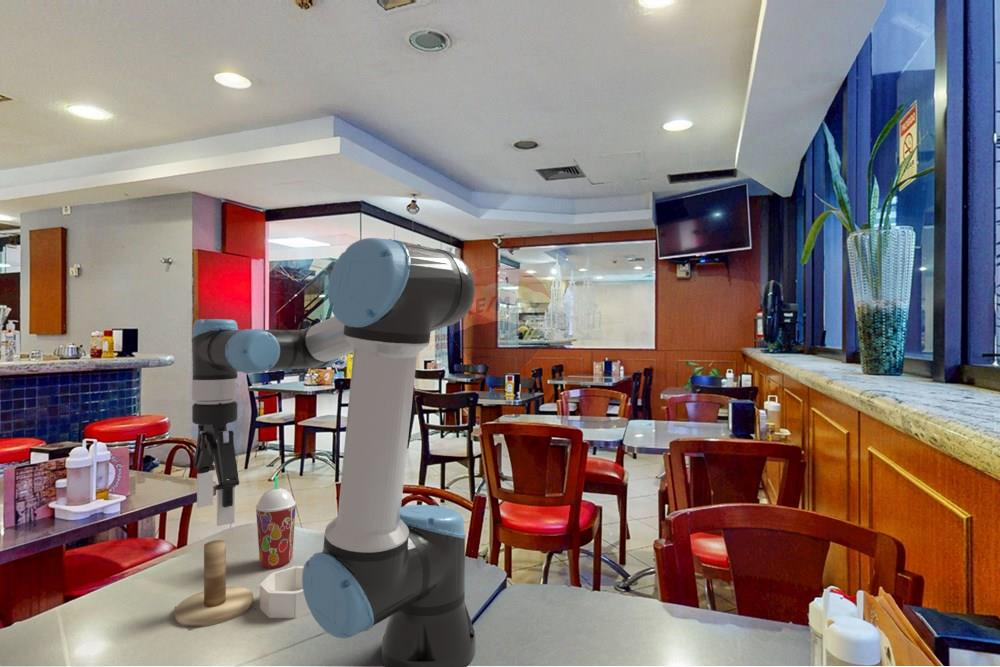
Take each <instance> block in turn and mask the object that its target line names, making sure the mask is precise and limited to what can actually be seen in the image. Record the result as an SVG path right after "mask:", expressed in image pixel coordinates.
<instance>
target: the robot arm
mask: <svg viewBox="0 0 1000 667" xmlns="http://www.w3.org/2000/svg"><path fill="white" fill-rule="evenodd" d="M327 290H328V291H327V294H328V302H329V305H330V306H332V308H331V312H332V314H333V316H331V317H329V318H327V319H324V320H322V321H320V322H317V323H315V324H314V325H311V326H308V327H307V328H304V329H303V328H302V329H260V328H259V329H258V328H245V329H239V328H238V323H237V321H236V320H234V319H228V318H227V319H222V318H221V319H219V318H211V319H208V318H207V319H206V318H205V319H203V318H202V319H201V318H200V319H197V320H195V321H194V323H193V324H192V326H193V327H192V328H193V329H192V337H191V347H192V358H191V359H192V361H191V362H192V379H191V400H192V401H194V403H193V404H192V405H191V406H192V408H191V409H192V412H191V413H192V414H191V415H192V416H191V419H192V420H191V421H192V423H193V424H194V425H198V430H197V431H198V434H197V440H196V441H197V442H196V448H195V452H194V453H195V455H194V461H193V467H194V468H195V471H196V508H197V509H198V508H205V507H209V506H213V505H214V490H215V491H216V526H217V527H220V526H221V527H222V526H225V525H229V524H234V523H235V512H236V511H235V508H236V507H235V505H236V504H235V497H236V496H235V490H236V489H235V487H236V486H239V485H240V479H239V472H238V466H237V465H238V464H237V457H236V452H235V451H236V450H235V444H234V441H235V440H234V431H233V430H228V429H227V428H228V427H227V424H229V423H234V422H236V421H237V420H238V402H237V401H236V399H237V398H238V388H240V386H241V383H240V382H239V381H238V372H242V373H244V374H249V375H250V374H259V373H264V372H267V371H270V372H271V371H282V370H283V371H284V370H298V369H299V370H300V369H314V370H317V369H323V368H329V367H331V366H333V365H335V363H336V362H337V360H338V359H340V358H342V357H345V356H349V355H350V354H352V364H351V365H352V366H351V374H350V375H351V376H350V385H349V395H348V404H347V405H348V407H347V415H346V416H347V418H346V426H345V427H346V428H345V435H344V436H345V438H344V448H343V459H342V469H341V480H340V490H339V498H338V499H339V500H338V511H337V517H335V518H334V519H332V520H331V521H330V522H329V523H328V524H327V525H326V527H325V529H324V538H323V546H322V547H323V548H322V551H321V552H315V553H314V554H313V555H312V556H311V557H309V559H308V560H307V561H306V562H305V564H304V565H303V566H304V568H303V573H302V586H303V592H304V596H305V600H306V603H307V605H308V608H309V609H310V611H311V613H310V614H311V615H312V617H313V618H314V621H316V623H317V624H318V625H319V627H321V629H323V631H325V632H326V633H327V634H329V635H330V636H332V637H335V638H339V639H348V638H351V637H354V636H356V635H358V634H360V633H362V632H367V631H370V629H372V628H373V627H374V626H375V625H377V624H379V623H381V622H382V621H384V620H386V619H387V618H388V620H387V624H386V628H385V631H384V632H385V633H384V634H383V637H382V640H381V660H382V663H383V664H384V666H385V667H467V666H468V665H469V664H470V663H471V662H472V661H473V659H474V657H475V655H476V649H477V647H476V646H477V645H476V644H477V643H476V632H475V629H474V626H473V623H472V620H471V616H470V614H469V610H468V607H467V604H466V598H465V596H466V595H465V593H466V591H465V590H466V589H465V587H466V586H465V585H466V584H465V583H466V581H465V580H466V578H465V577H466V576H465V574H466V573H465V572H466V569H465V568H466V538H467V536H466V534H465V533H466V532H465V520H464V517H463V516H462V514H461V513H460V512H458V511H457V510H455V509H452V508H449V507H446V506H440V505H430V504H429V505H428V504H413V505H405V506H402V500H403V493H404V492H403V491H404V482H405V473H406V464H407V453H408V446H409V444H408V443H409V433H410V425H411V417H412V416H411V415H412V405H413V396H414V388H415V378H416V369H417V368H416V367H417V359H418V355H419V353H421V352H422V351H423V350H424V349H425V348H427V347H428V346H429V344H430V340H431V334H432V333H431V332H433V331H436V330H440V329H442V328H446V327H450V326H452V325H455V324H457V323H458V322H460V321H462V319H464V318H465V317H466V315H467V314H468V313H469V311H470V310H471V308H472V306H473V303H474V301H475V296H476V282H475V278H474V275H473V274H472V271H471V269H470V268H469V266H468V265H467V264H466V262H465V261H464V260H463V259H462V258H460V257H459V256H458V255H456V254H454V253H453V252H450V251H448V250H445V249H440V248H431V247H429V246H424V245H418V244H416V243H411V242H405V241H401V240H397V239H392V238H388V239H387V238H379V237H378V238H377V237H367V238H362V239H359V240H357V241H355V242H353V243H352V244H349V246H347V248H346V249H345V251H344V252H341V254H340V256H338V259H337V260H336V261H335V263H334V266H333V268H332V270H331V273H330V276H329V282H328V289H327ZM214 471H215V472H216V473H215V474H216V477H217V484H216V485H215V486H214Z"/></svg>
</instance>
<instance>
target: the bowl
mask: <svg viewBox="0 0 1000 667" xmlns="http://www.w3.org/2000/svg"><path fill="white" fill-rule="evenodd" d="M303 568H304V565H294V566H291V567H289V568H283V569H282V570H277V571H274V572H271V573H270V574H269V575H267V577H265V579H263V581H261V582H260V583H259V609H260V610H261V611H262V612H263V613H264V614H265V616H267V618H269V619H270V618H271V619H296V618H297V619H298V618H301V617H303V616H305V615H308V614H309V615H310V614H312V613H311V611H310V609H309V608H308V605H307V603H306V600H305V596H304V592H303V586H302V573H303Z"/></svg>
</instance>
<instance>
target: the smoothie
mask: <svg viewBox="0 0 1000 667" xmlns="http://www.w3.org/2000/svg"><path fill="white" fill-rule="evenodd" d="M278 478H279V477H278V475H275V476H274V488H273V487H272V488H271V489H269V490H267V491H266V492H264V493H263V494H262V495H261V497H260V498H259V500H258V502H257V504H256V505H255V510H256V511H255V512H256V513H255V514H256V527H257V542H258V556H259V557H258V558H259V563H260V565H261V566H262V568H265V569H277V568H283V567H285V566H287V565H288V564H290V562H291V560H293V559H292V558H293V556H294V554H293V552H294V535H295V524H296V523H295V520H296V504H297V501H296V500H295V498H294V497H293V495H292V494H291V492H290V491H289V490H287V489H285V488H281V487H279V486H278V484H279V483H278Z"/></svg>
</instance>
